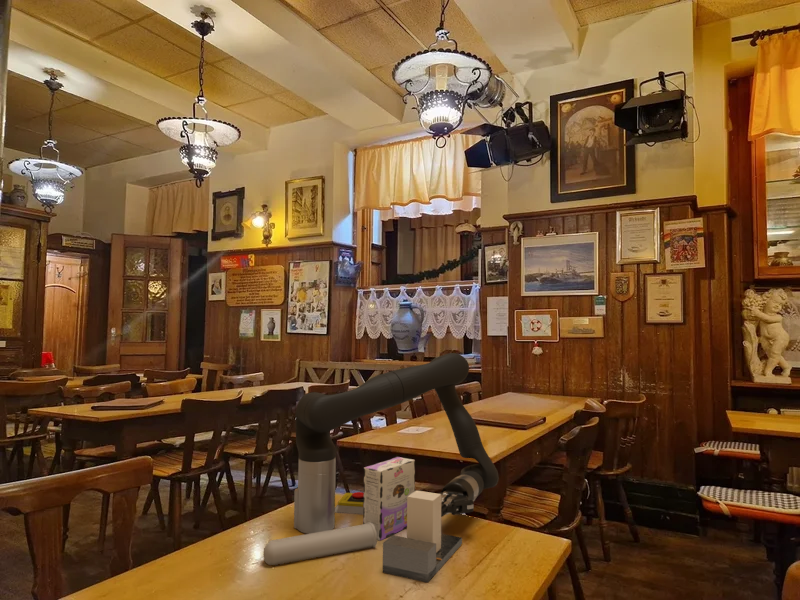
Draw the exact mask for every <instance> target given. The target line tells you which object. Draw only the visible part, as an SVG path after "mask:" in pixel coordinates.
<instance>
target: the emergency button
mask: <svg viewBox="0 0 800 600" xmlns="http://www.w3.org/2000/svg"><path fill="white" fill-rule="evenodd" d="M363 506H364V491H363V492H361V491H358V492H357V491H356V492H345V493H344V494H343V495H342V497H340V499H339V500H338V502H337V505H335V514H346V515H348V514H349V515H359V516H360V515H361V516H363V509H364V507H363Z"/></svg>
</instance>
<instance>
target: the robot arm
mask: <svg viewBox="0 0 800 600" xmlns="http://www.w3.org/2000/svg"><path fill="white" fill-rule="evenodd" d="M469 373H470V365H469V362H468V360H467V359H466V358H465V356H463V355H461V354H459V353H455V352H450V353H445V354H442V355H440V356H437V357H435V358H433V359H431V360H430V362H428V363H424V364H420V365H415V366H414V365H413V366H408V367H405V368H404V367H403V368H398V369H394V370H391V371H387V372H383V373H381V374H378V375H375V376H373V377H371V378H369V379H368V380H366V381H365V382H364V383H362V384H361V385H359V386H358V387H356V388H354V389H352V390H351V389H350V390H347V391H344V392H339V393H333V394H324V393H321V392H317V391H316V392H315V391H314V392H308V393H306V394H304V395H303V396H302V397H301V398H300V399H299V401H298V402H297V405H296V409H295V442H296V443H295V445H296V448H297V452H298V453H297V454H298V474H297V475H298V476H297V477H298V478H297V488H295V489H294V498H293V499H294V500H293V501H294V503H293V504H294V508H293V511H294V513H293V515H294V517H293V528H294V529H297V530H298V531H299V532H301V533H303V534H311V533H317V532H322V531H328V530H334V528H335V523H336V522H335V521H336V519H335V518H336V517H335V516H336V513H335V507H336V466H337V465H336V464H337V463H336V457H337V456H336V453H337V451H336V450H337V449H336V448H337V447H336V446H335V443H334V442H333V440H332V437H331V434H330V431H333V430H335V429H338V428H340V427H342V426H343V425H346V424H347V423H349V422H351V421H354V420H356V419H358V418H361V417H363V416H367V415H371V414H374V413H377V412H380V411H383V410H387V409H390V408H392V407H396V406H399V405H400V404H403V403H406V402H408V401H410V400H413V399H416V398H418V397H419V396H421V395H424V394H425V393H427V392H430V391H432V390H435V393H436V395H437V397H438V399H439V402H440V403H441V405H442V407H443V410H444V412H445V415H446V417H447V418H448V422H449V424H450V426H451V427H450V428H451V430H452V433H453V436H454V439H455V443H456V446H457V448H458V452H459V454H460V457H461V458H463V459H473V460H475V461H476V462H477V463H476V464H470V465H467V466H465V467H463V468H462V469H461V471H460V475H458V476H456V477H454V478H453V479H451V480H450V481H449V482H448V483H446V484H445V485H444V486H443V488H441V492H438V493H437V494H441V518H443V517H444V516H445V515H446V516H447V515H449V514H451V515H452V516H456V515H462V514H468V513H473V512H474V502H475V501H476V499H477V497H479V495H481V494H482V492H483V490H486V489H490V488H495V487H496V486H497V484H498V483H499V472H498V469H497V468H496V465H495V464H494V462H493V461H492V459H491V457H490V456H489V454H488V453H487V451H486V449H485V447H484V444H483V442H482V439H481V435H480V433H479V430H478V427H477V424H476V422H475V420H474V418H473V417H472V415H471V414H470V413H469V411H468V409H466V408H465V406H464V404H463V403H462V401H461V399H460V398H459V395H458V392H457V389H456V385H458V384H459V385H460V384H461V383H462V382H464V380H466V378H467V376H468V375H469Z"/></svg>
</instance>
